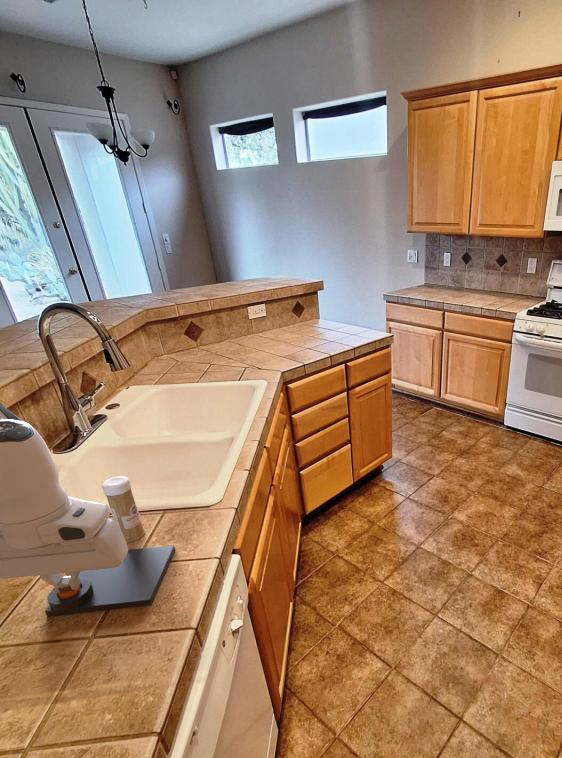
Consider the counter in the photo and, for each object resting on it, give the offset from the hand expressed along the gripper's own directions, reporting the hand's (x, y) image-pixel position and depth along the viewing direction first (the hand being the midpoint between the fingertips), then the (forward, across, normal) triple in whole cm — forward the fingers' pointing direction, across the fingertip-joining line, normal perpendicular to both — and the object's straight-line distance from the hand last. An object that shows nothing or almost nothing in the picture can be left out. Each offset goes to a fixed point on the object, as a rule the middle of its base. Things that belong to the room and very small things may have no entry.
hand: (69, 588), depth 72 cm
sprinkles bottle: (+4, +3, +18) cm, 18 cm away
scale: (+4, +5, +4) cm, 8 cm away
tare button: (+2, 0, 0) cm, 2 cm away
